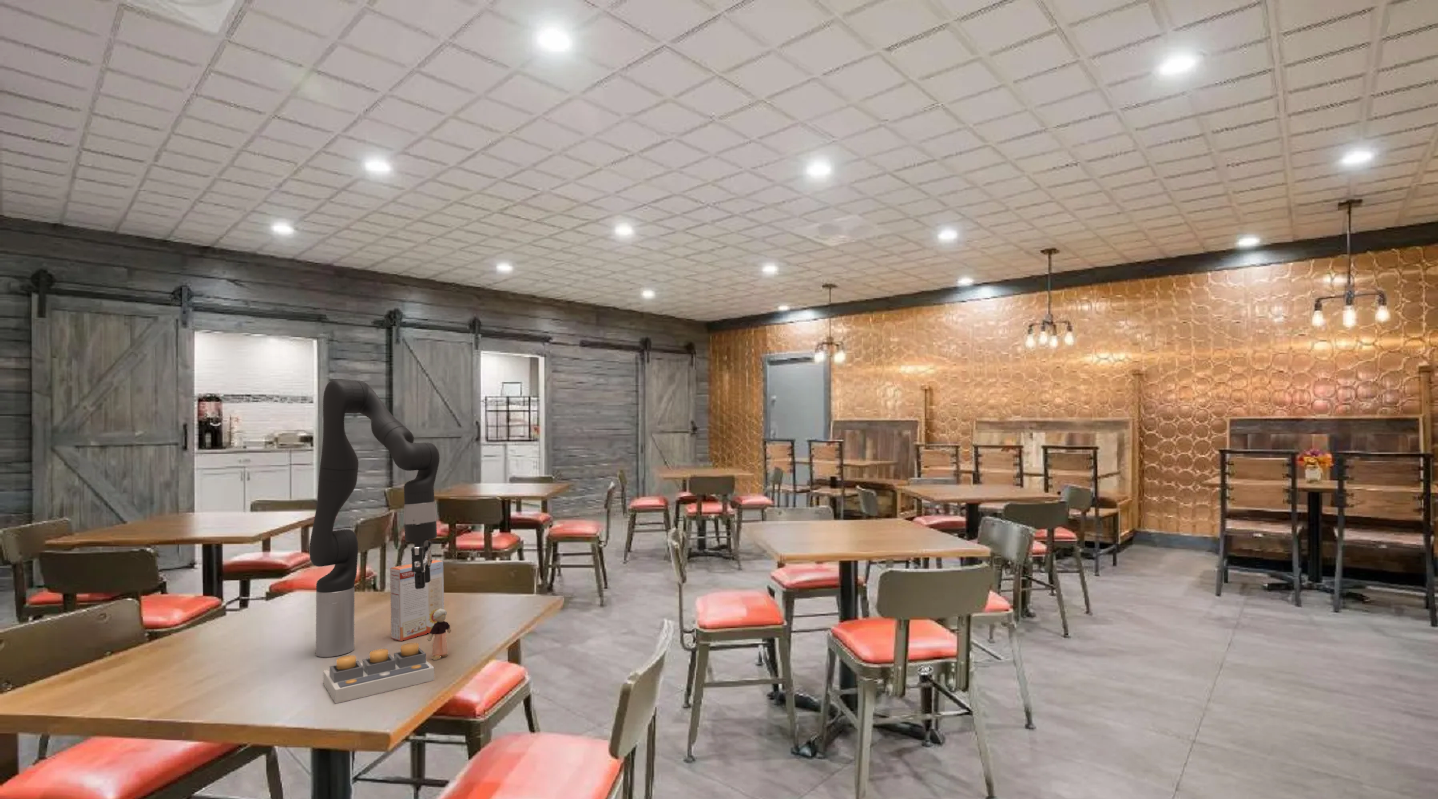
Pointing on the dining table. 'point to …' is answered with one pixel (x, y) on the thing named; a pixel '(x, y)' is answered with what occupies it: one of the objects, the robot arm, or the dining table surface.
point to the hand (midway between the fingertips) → (423, 585)
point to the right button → (409, 649)
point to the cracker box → (414, 601)
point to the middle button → (378, 655)
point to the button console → (377, 676)
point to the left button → (346, 662)
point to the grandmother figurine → (439, 635)
